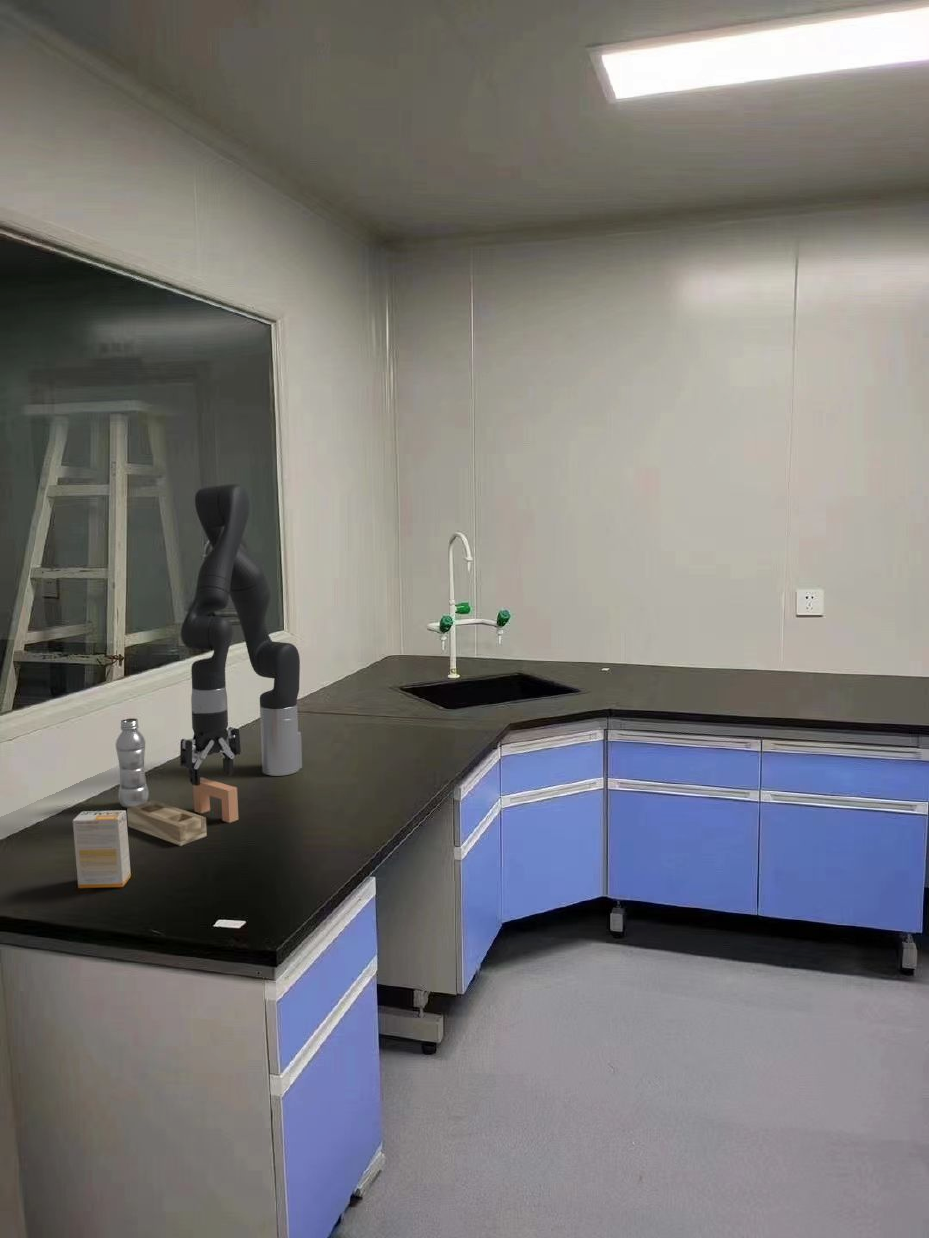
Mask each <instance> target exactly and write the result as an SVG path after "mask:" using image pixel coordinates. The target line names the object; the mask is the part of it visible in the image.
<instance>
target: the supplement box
mask: <svg viewBox="0 0 929 1238" xmlns="http://www.w3.org/2000/svg"><path fill="white" fill-rule="evenodd" d="M126 810H127V809H126ZM126 810H95V811H94V810H90V811H87V810H86V811H85V810H84V811H81V812H80V813H79V814H78V815H77V816H75V818H73V820H72V828H73V841H74V851H75V865H76V875H77V876H76V877H77V886H78V889H94V888H97V889H98V888H100V889H101V888H123V887H124V886H125V885H126V884H127V882H129V880H130V878H131V876H132V873H131V861H130V848H129V847H130V846H129V835H128V818H127V811H126Z"/></svg>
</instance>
